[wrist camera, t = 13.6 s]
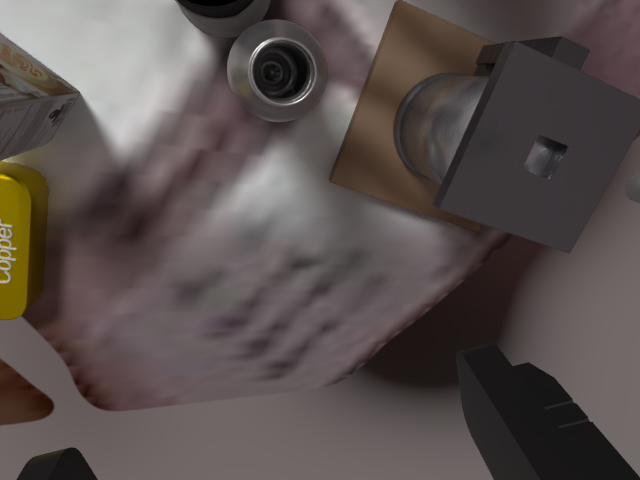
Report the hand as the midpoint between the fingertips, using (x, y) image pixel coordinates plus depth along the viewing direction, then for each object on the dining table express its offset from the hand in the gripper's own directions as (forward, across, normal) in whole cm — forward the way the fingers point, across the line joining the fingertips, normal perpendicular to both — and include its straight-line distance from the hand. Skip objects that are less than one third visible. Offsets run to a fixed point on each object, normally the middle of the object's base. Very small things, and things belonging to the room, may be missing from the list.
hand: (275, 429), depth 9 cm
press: (+38, -18, +3) cm, 42 cm away
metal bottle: (+39, -1, -5) cm, 40 cm away
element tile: (+38, +32, +2) cm, 50 cm away
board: (+39, -17, +4) cm, 43 cm away
